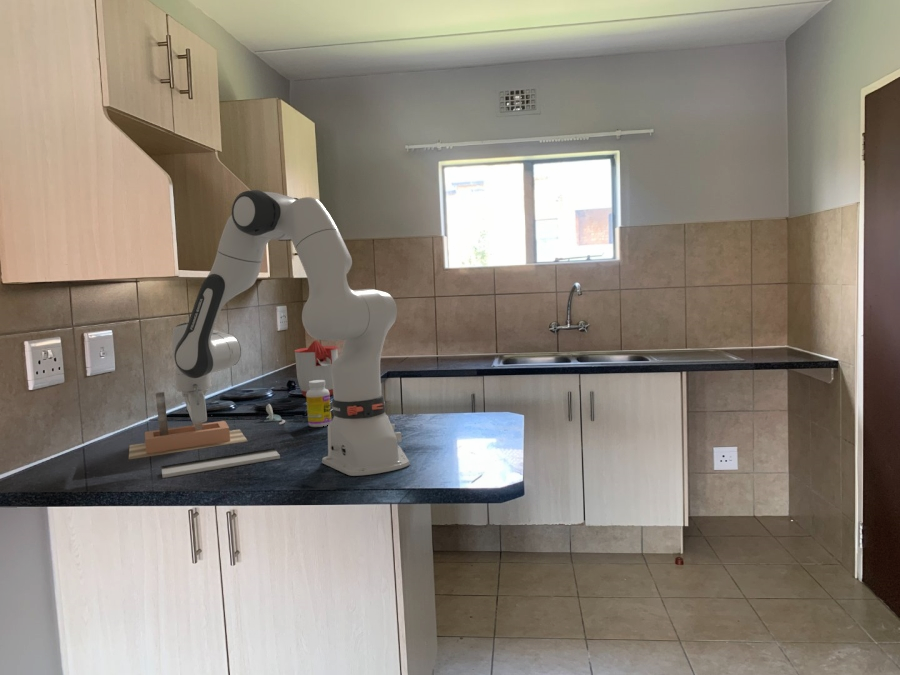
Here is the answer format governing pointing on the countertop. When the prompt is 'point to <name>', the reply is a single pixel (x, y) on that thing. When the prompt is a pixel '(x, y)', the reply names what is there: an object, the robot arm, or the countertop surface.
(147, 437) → the link
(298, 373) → the citrus juicer
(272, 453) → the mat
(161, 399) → the stand
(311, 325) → the robot arm
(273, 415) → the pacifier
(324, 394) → the supplement bottle
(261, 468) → the countertop surface
